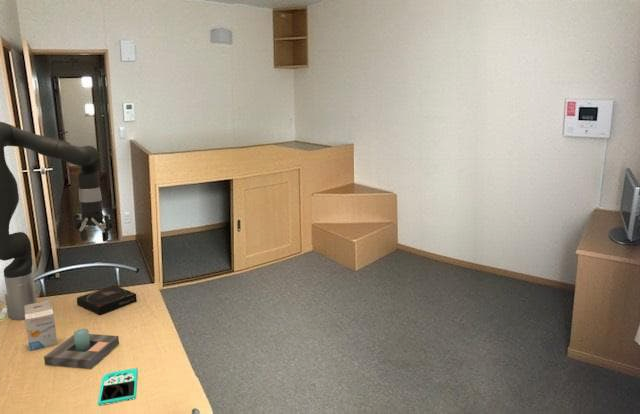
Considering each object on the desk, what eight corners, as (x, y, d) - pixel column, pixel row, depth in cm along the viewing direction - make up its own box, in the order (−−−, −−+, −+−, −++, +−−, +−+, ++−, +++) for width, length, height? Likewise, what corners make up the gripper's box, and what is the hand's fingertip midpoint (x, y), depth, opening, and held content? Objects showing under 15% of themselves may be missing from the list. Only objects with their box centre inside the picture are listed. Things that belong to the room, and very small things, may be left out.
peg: (73, 356, 158) (70, 334, 156) (82, 350, 162) (79, 328, 160) (85, 357, 157) (83, 335, 155) (93, 351, 161) (91, 329, 160)
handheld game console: (138, 370, 150) (137, 367, 150) (136, 400, 136) (136, 396, 135) (103, 376, 147) (103, 372, 147) (98, 407, 132) (97, 403, 132)
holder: (45, 364, 153) (43, 355, 152) (77, 340, 168) (76, 332, 168) (90, 368, 151) (89, 359, 150) (119, 343, 166) (118, 335, 165)
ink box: (29, 351, 162) (23, 310, 158) (28, 345, 166) (22, 305, 162) (57, 344, 166) (52, 304, 163) (56, 338, 170) (51, 299, 167)
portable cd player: (113, 293, 211) (113, 284, 210) (136, 302, 201) (136, 293, 200) (77, 306, 198) (76, 297, 197) (99, 316, 188) (98, 307, 187)
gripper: (66, 200, 177) (72, 242, 181) (102, 202, 175) (106, 244, 179) (79, 197, 185) (84, 237, 188) (113, 197, 183) (117, 238, 186)
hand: (95, 240), depth 184 cm, fingers open, 8 cm apart
